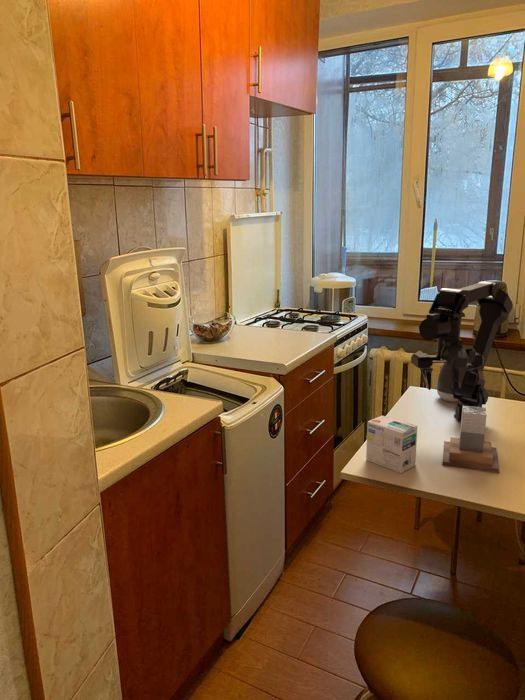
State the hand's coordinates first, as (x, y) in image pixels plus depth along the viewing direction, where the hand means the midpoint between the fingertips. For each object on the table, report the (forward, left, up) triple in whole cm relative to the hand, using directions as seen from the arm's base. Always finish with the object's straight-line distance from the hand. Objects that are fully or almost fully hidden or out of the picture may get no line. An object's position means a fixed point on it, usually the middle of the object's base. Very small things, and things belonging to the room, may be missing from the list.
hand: (444, 388), depth 151 cm
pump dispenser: (-15, -26, -13) cm, 33 cm away
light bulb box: (+21, +17, -13) cm, 30 cm away
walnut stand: (0, +17, -13) cm, 21 cm away
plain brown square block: (0, +17, -10) cm, 20 cm away
